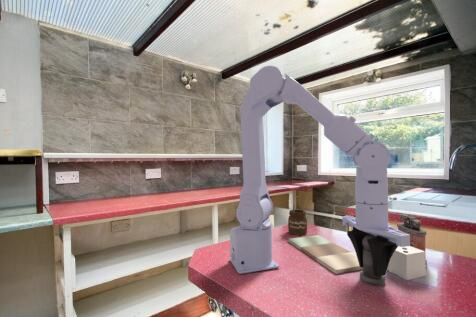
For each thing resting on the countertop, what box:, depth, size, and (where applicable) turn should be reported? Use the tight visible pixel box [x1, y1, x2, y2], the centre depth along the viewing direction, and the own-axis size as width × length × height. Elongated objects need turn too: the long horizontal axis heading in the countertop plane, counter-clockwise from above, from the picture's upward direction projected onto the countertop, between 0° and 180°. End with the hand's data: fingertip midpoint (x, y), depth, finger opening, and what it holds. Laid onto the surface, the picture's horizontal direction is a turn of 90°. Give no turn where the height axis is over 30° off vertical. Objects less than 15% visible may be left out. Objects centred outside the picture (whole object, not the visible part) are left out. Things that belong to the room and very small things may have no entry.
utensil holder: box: [287, 195, 309, 236], centre depth 80 cm, size 6×6×12 cm
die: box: [387, 246, 427, 281], centre depth 52 cm, size 5×5×5 cm
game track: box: [287, 234, 363, 275], centre depth 64 cm, size 10×21×1 cm, turn 16°
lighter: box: [396, 213, 427, 266], centre depth 59 cm, size 8×3×10 cm, turn 179°
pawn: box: [359, 235, 386, 287], centre depth 49 cm, size 4×4×9 cm
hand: (372, 270), depth 49 cm, fingers closed on pawn, 3 cm apart
